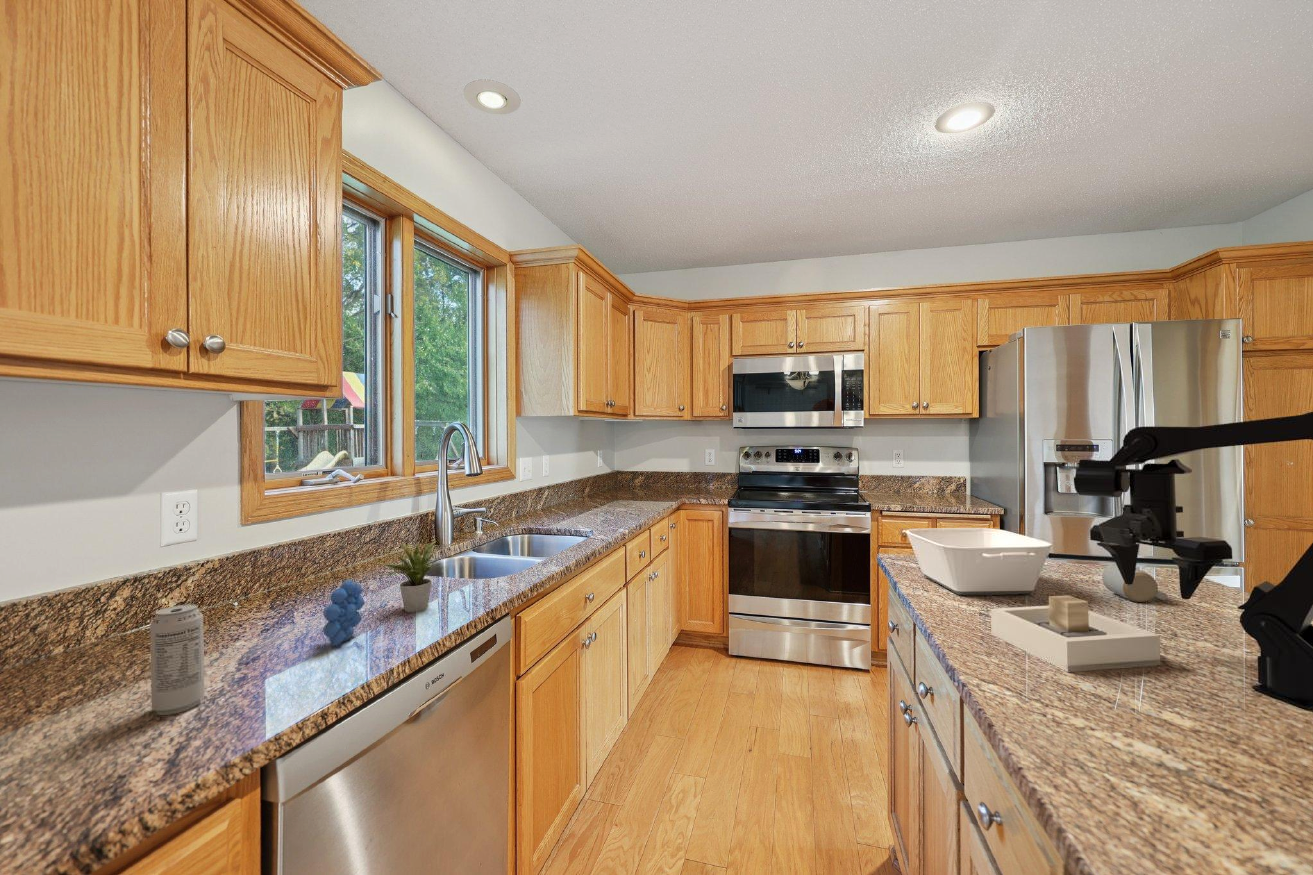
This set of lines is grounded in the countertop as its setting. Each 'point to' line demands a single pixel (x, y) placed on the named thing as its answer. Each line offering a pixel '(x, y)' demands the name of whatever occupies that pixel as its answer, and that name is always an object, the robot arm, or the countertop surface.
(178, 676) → the energy drink can
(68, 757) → the countertop surface
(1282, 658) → the robot arm
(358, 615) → the grapes
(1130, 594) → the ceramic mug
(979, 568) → the tub
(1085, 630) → the wooden block
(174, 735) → the countertop surface
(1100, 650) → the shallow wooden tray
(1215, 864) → the countertop surface
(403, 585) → the house plant
